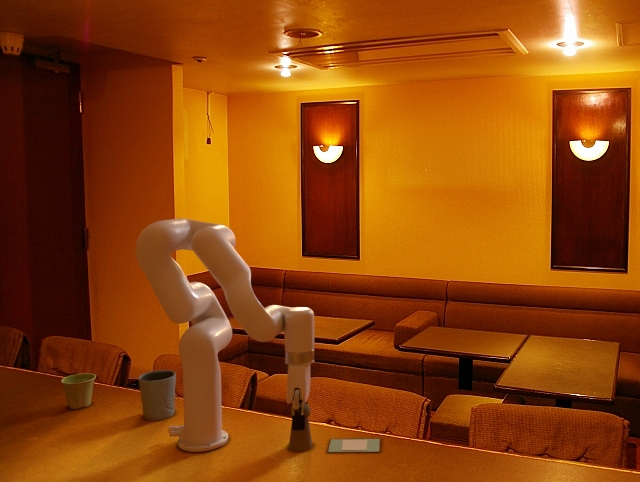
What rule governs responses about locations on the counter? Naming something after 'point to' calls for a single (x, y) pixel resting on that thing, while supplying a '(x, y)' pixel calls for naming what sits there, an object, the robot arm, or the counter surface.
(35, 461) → the counter surface
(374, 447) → the placemat
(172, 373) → the grey cup
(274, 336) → the robot arm
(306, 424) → the brown tall tapered piece
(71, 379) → the plant pot
